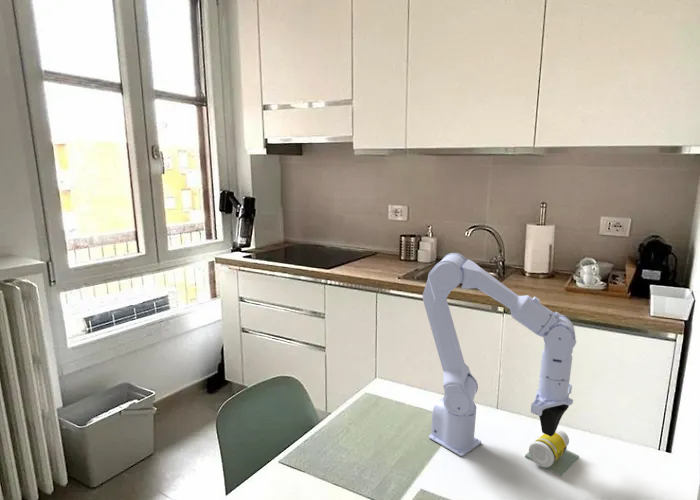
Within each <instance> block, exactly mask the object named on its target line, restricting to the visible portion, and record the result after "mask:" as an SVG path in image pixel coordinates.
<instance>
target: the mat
mask: <svg viewBox="0 0 700 500" xmlns="http://www.w3.org/2000/svg"><path fill="white" fill-rule="evenodd" d="M524 458H527V459H528V460H530V461H532V462H534V461H533V460H532V459H531V457H530V455H529V451H528V452H526V454H525V455H524ZM579 458H580V455H578V454H576V453H575V452H572V451H570V450H568V449H566V452H565V453H564V454H563V455H562V456H561V457H560V458H559V459H557V460H556V461H555V462H554V463H553V464H552V465H551V466H549V467H544V468H545V469H547V470H550V471H552V472H553V473H555V474H557V475H559V476H562V475H563V474H564V473H565V472H566V471H567V470H568V469H569V468H570V467H571V466H573V464H574V463H575V462H577V461H578V460H579Z"/></svg>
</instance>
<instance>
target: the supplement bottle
mask: <svg viewBox="0 0 700 500" xmlns="http://www.w3.org/2000/svg"><path fill="white" fill-rule="evenodd" d="M569 444H570V438H569V436H568V435H567V432H565V431H564V430H562V429H560V428H559V429H558V428H557V429H556V432H555V434H554V435H553V436H549V435H546V434H544V433H542V435H541V436H539V437H538V438H537V439H535V440H534V441H533V442H531V443H530V444H529V447H528V452H529V455H530V457H531V459H532V460H533V461H532V460H531V461H532V462H534V463H535V465H537V466H539V467H541V468H545V467H549V466H551V465H552V464H553V463H554V462H555V461H556V460H557V459H559V458H560V457H561V456H562V455H563V454H564V453H565V452H566V450H568V446H569Z"/></svg>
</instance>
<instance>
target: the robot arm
mask: <svg viewBox="0 0 700 500" xmlns="http://www.w3.org/2000/svg"><path fill="white" fill-rule="evenodd" d="M460 284H461V289H462V290H466V289H467V290H468V289H469V290H470V289H477V290H479V291H480V292H482V293H484V294H485V295H487V296H489V297H490V298H492V299H494V300H495V301H496V302H498V303H500V304H502V305H503V306H505V307H506V308H508V309H509V311H510V315H511V318H512V319H514V320H515V321H516V322H518V323H519V324H521V325H522V326H524V327H525V328H527V329H528V330H530V332H533V333H534V334H536V335H537V336H539V337H541V338H543V342H544V344H543V345H544V346H543V347H544V348H543V350H542V352H541V360H540V362H541V363H540V370H539V379H538V386H537V387H538V389H537V390H536V393H535V397H534V401H533V402H532V403H531V404H530V413H532V414H533V415H536V416H538V417H539V421H540V426H541V433H542V434H546V435H549V436H553V435H554V434H555V432H556V429H558V426H559V424H560V421H561V419H562V417H563V416H564V414H565V412H566V411H567V410H568V409H569V407H570V406H571V405H573V403H574V400H573V399H572V398H570V394H572V390H573V389H572V388H573V384H571V383H570V380H571V379H570V378H571V373H572V371H571V370H572V363H573V351H574V348H575V346H576V344H577V340H576V338H577V337H576V331H575V326H574V324H573V322H572V321H571V320H570V319H569V318H568V317H567V316H566V315H563V314H561V313H559V312H558V311H555V312H554V311H552V310H550V309H549V308H548V307H547V306H544V305H543V304H542V303H541V299H540V298H538V297H537V296H533V297H532V296H530V295H528V294H527V295H518V294H517V293H516V292H514V291H513V290H511V289H510V288H509V287H507V285H505V284H504V283H502V282H500V281H499V280H498V279H497V278H496V277H494V276H493V275H491V274H490V273H489V272H487V271H486V270H485V269H484V268H482V267H480V266H479V265H478V264H477V263H476V262H475V261H473V260H471V259H467V258H466V257H465V256H464V255H462V254H460V253H458V252H451V253H448V254H446V255H445V256H444V257H443V258H442V259H441V260H440V261H439V262H437V263H436V264H435V265H434V266H433V267H432V269H431V270H430V271H429V272H428V275H427V280H426V283H425V286H424V290H423V292H422V300H423V305H424V308H425V312H426V315H427V318H428V322H429V326H430V329H431V333H432V337H433V340H434V343H435V347H436V350H437V354H438V357H439V361H440V365H441V367H442V372H443V374H442V375H443V378H442V386H443V389H444V390H443V391H444V394H443V398H441V397H440V399H439V400H437V401H436V403H435V404H434V406H433V409H432V414H431V415H432V417H431V428H430V431H431V432H430V434H429V435H428V438H429V439H430V440H432V441H433V442H434V443H435V442H436V443H437V444H439V445H441V446H442V447H444V448H445V449H447V450H450V451H451V452H453V453H455V455H458V456H459V457H464V456H465V455H467V454H468V453H469V452H471V451H472V450H474V449H475V448H477V447H478V446H479V445H481V444H482V440H481V439H479V438H477V437H475V433H476V432H475V430H476V417H477V416H476V415H477V405H476V403H475V401H474V399H475V396H476V394H477V392H478V389H479V384H478V381H477V379H476V378H475V377H474V375H473V374H472V373H471V370H470V367H469V366H468V364H466V363H465V359H464V356H463V352H462V348H461V345H460V342H459V341H460V340H459V338H458V335H457V332H456V331H457V330H456V327H455V324H454V321H453V316H452V313H451V309H450V307H449V306H450V305H449V303H448V300H447V298H448V296H449V295H450V293H451V292H452V291H453V290H455V289H456V288H457V287H458V286H459V285H460Z"/></svg>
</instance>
